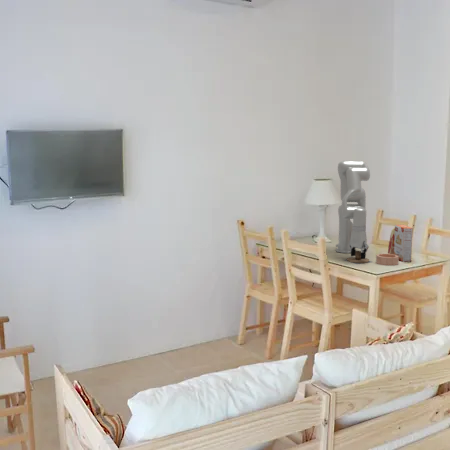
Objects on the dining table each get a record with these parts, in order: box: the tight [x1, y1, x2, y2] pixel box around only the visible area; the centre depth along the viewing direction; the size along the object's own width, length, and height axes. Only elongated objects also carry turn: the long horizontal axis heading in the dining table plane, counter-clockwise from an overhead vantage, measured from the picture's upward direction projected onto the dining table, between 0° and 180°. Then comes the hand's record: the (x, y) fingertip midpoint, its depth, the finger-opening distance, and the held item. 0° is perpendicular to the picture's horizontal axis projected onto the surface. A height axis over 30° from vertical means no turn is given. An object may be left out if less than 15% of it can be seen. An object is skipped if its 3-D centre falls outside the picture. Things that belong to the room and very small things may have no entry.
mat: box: [343, 259, 373, 265], centre depth 329 cm, size 13×13×1 cm
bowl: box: [375, 253, 400, 266], centre depth 324 cm, size 12×12×5 cm
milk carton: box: [387, 227, 395, 254], centre depth 347 cm, size 9×9×20 cm
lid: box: [346, 250, 370, 264], centre depth 329 cm, size 13×13×6 cm
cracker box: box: [394, 224, 413, 263], centre depth 336 cm, size 14×6×21 cm, turn 4°
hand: (358, 257), depth 329 cm, fingers open, 8 cm apart
